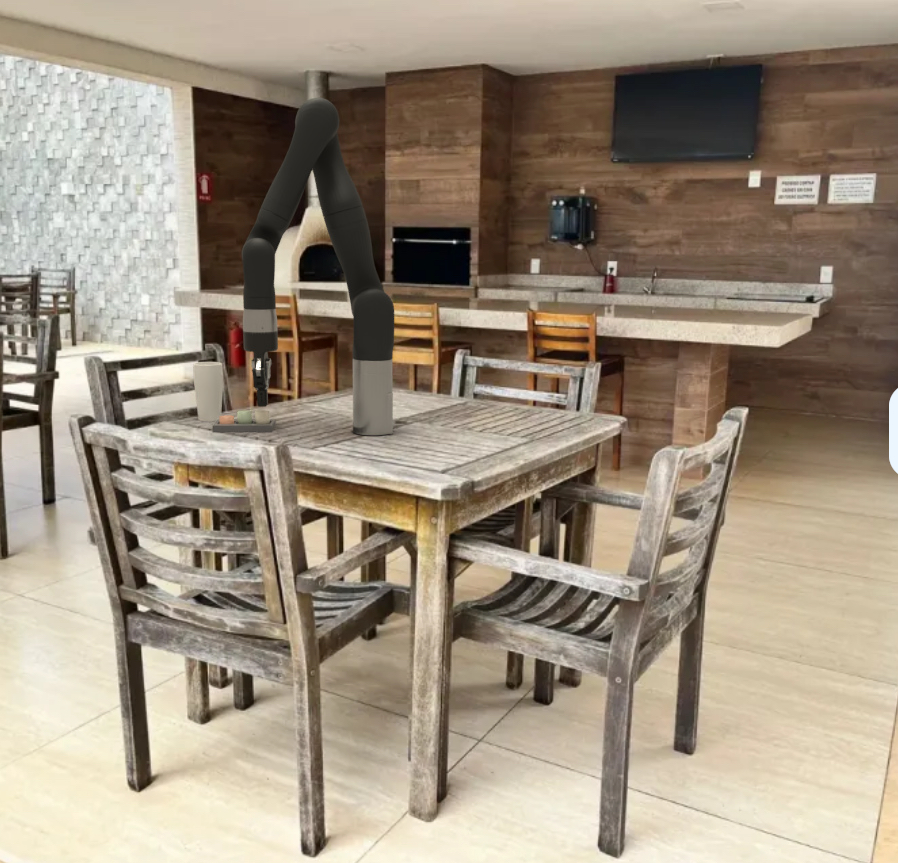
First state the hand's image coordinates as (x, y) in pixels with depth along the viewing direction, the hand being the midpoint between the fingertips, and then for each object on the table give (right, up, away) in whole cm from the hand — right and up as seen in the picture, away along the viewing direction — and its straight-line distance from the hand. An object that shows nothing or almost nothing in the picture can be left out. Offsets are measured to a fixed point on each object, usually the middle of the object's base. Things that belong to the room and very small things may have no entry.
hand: (262, 405), depth 203 cm
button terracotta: (-8, -6, 0) cm, 10 cm away
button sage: (-4, -5, +1) cm, 7 cm away
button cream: (0, -5, +1) cm, 5 cm away
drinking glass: (-15, -5, +12) cm, 20 cm away
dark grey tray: (-4, -7, +1) cm, 8 cm away
